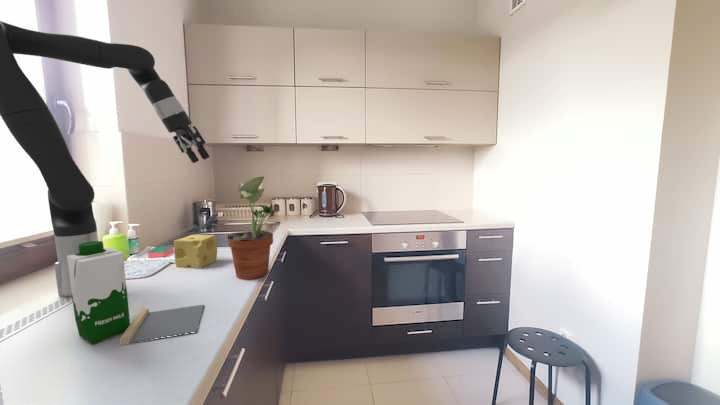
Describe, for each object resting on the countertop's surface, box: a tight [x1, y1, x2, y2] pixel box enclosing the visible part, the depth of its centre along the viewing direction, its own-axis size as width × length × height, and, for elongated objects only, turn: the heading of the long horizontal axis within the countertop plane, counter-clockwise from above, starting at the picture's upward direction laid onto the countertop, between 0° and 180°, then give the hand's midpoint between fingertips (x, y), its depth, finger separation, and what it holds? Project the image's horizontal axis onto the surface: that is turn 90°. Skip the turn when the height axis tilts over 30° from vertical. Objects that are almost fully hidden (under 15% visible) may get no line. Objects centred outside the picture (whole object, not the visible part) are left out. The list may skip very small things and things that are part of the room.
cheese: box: [173, 234, 218, 269], centre depth 118 cm, size 10×11×10 cm
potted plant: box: [227, 176, 275, 281], centre depth 105 cm, size 16×15×35 cm
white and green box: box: [67, 240, 131, 346], centre depth 69 cm, size 9×9×20 cm
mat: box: [119, 304, 205, 346], centre depth 74 cm, size 14×14×2 cm
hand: (201, 160), depth 107 cm, fingers open, 8 cm apart
